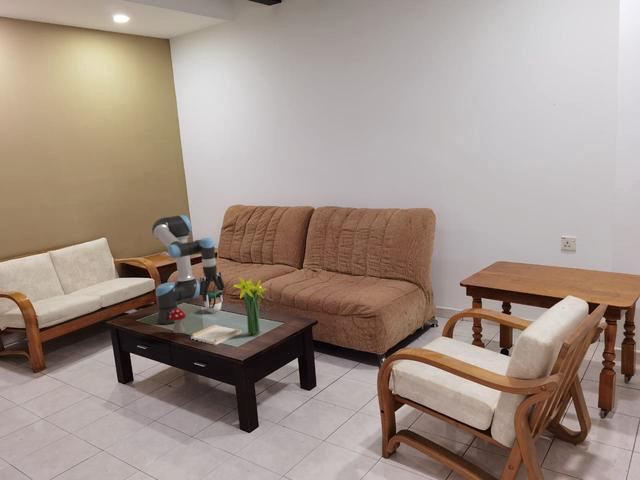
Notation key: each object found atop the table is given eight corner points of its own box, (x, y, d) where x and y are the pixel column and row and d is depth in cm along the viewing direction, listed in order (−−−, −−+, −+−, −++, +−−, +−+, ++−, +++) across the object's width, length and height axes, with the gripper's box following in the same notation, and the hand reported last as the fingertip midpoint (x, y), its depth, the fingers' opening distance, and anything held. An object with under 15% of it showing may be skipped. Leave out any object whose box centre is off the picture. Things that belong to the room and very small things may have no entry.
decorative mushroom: (190, 330, 302) (187, 306, 299) (183, 335, 294) (180, 310, 291) (174, 330, 304) (171, 306, 301) (167, 335, 295) (164, 311, 293)
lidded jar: (210, 309, 342) (208, 296, 340) (225, 309, 339) (223, 295, 338) (203, 314, 331) (201, 300, 330) (218, 314, 329) (217, 300, 327)
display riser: (190, 339, 287) (190, 334, 286) (217, 328, 303) (216, 323, 302) (215, 344, 275) (215, 340, 275) (241, 332, 291) (240, 328, 291)
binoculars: (220, 309, 284) (218, 292, 282) (202, 310, 286) (200, 292, 285) (226, 305, 293) (224, 288, 291) (209, 305, 295) (207, 288, 293)
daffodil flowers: (258, 327, 298) (252, 269, 293) (274, 332, 288) (269, 272, 282) (235, 336, 287) (228, 275, 281) (251, 341, 276) (245, 279, 271)
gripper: (198, 270, 274) (203, 310, 278) (228, 261, 292) (232, 299, 296) (189, 269, 278) (194, 308, 282) (219, 261, 296) (223, 297, 300)
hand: (213, 303), depth 289 cm, fingers closed on binoculars, 10 cm apart
